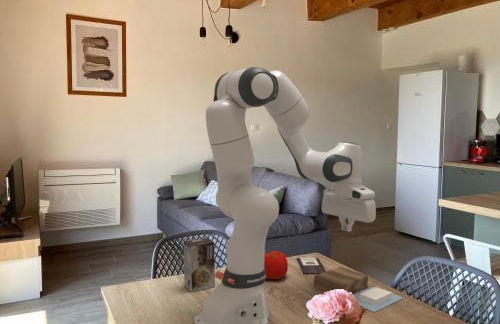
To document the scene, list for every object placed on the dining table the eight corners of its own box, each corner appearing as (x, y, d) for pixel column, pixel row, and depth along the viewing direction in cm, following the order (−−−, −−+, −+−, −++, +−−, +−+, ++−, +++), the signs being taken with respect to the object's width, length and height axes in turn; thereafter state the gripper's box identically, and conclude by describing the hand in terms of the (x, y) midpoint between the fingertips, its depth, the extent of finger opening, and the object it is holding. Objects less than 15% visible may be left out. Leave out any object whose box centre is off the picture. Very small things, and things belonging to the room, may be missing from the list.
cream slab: (359, 293, 134) (359, 299, 134) (375, 299, 130) (375, 306, 130) (376, 286, 140) (375, 292, 140) (392, 292, 135) (391, 298, 135)
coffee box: (207, 281, 151) (206, 237, 150) (215, 287, 146) (215, 241, 144) (183, 286, 146) (182, 241, 145) (191, 292, 141) (190, 245, 139)
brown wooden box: (341, 297, 137) (341, 285, 136) (314, 286, 146) (314, 275, 146) (367, 287, 146) (367, 276, 145) (339, 277, 155) (340, 266, 154)
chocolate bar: (303, 273, 158) (296, 257, 176) (303, 275, 158) (296, 260, 176) (327, 273, 158) (318, 257, 176) (327, 275, 158) (318, 259, 176)
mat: (374, 312, 126) (374, 311, 126) (342, 299, 135) (342, 298, 135) (403, 298, 136) (403, 297, 136) (371, 287, 145) (371, 286, 145)
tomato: (273, 269, 163) (273, 246, 162) (294, 278, 154) (294, 254, 153) (251, 275, 157) (251, 251, 156) (271, 285, 147) (271, 260, 146)
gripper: (318, 187, 147) (317, 226, 148) (367, 195, 131) (365, 238, 132) (330, 185, 151) (328, 223, 152) (379, 193, 135) (377, 235, 136)
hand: (346, 230), depth 142 cm, fingers closed
